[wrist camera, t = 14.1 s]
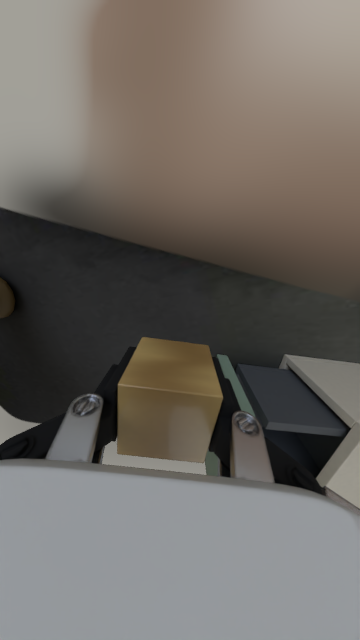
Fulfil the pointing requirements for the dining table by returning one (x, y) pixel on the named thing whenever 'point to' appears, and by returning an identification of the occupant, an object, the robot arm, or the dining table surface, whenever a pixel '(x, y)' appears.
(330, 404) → the small drawer cabinet
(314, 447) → the green drawer
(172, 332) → the dining table surface
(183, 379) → the block
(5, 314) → the kendama
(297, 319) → the dining table surface
